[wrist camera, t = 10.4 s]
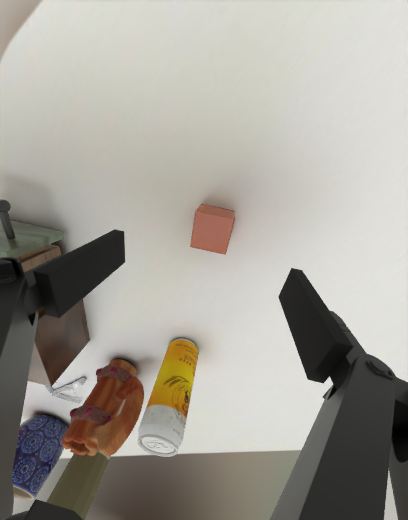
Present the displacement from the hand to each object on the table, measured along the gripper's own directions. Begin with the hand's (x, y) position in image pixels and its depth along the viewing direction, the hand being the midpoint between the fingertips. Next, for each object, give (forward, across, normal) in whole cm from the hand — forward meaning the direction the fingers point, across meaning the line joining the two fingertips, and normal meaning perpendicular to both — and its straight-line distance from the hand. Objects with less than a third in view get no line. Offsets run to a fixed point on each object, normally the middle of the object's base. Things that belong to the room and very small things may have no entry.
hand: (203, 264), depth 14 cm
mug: (+12, -12, -36) cm, 40 cm away
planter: (+12, -41, -80) cm, 91 cm away
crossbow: (+12, -30, -52) cm, 61 cm away
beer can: (+12, -1, -26) cm, 29 cm away
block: (+12, 0, 0) cm, 12 cm away
